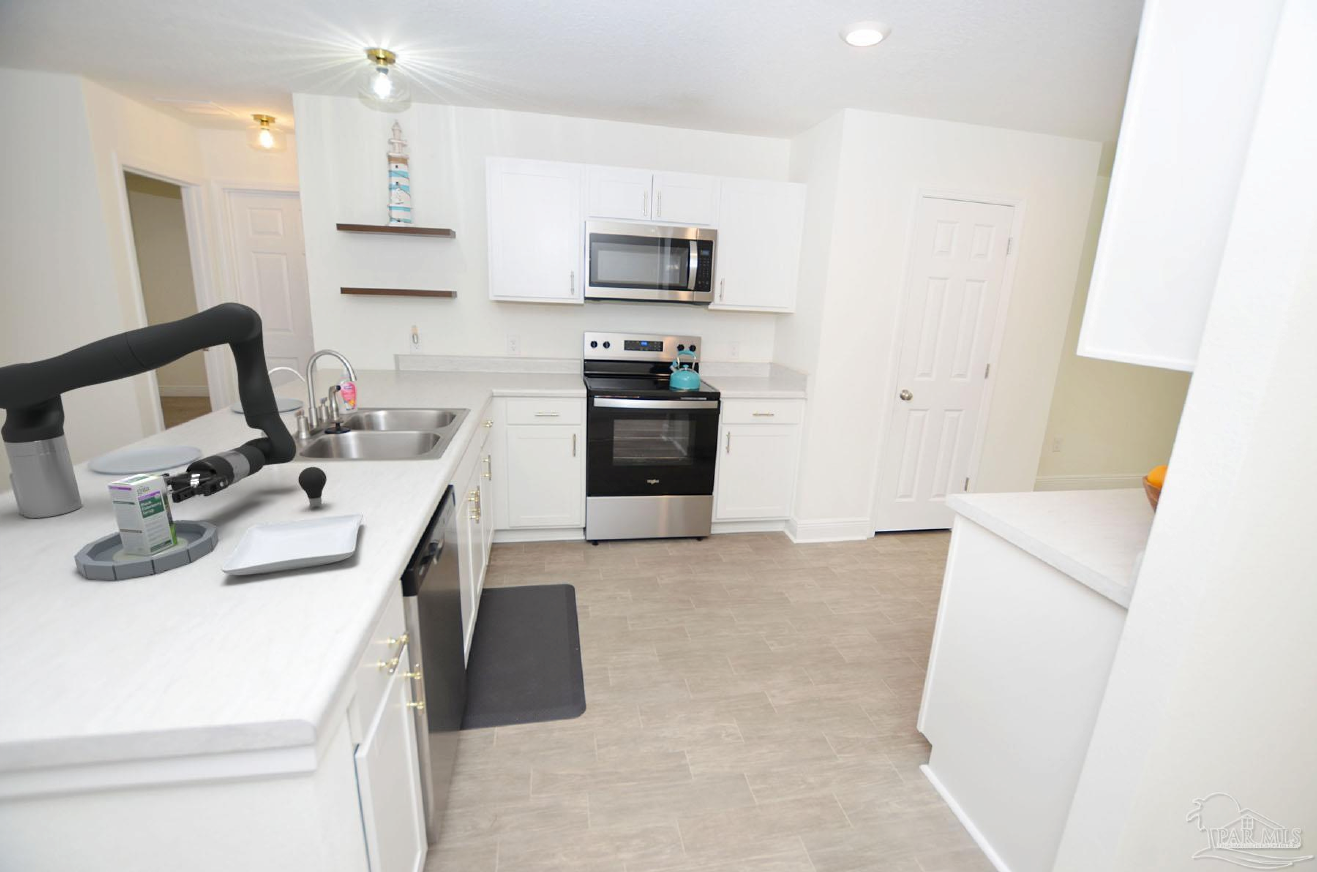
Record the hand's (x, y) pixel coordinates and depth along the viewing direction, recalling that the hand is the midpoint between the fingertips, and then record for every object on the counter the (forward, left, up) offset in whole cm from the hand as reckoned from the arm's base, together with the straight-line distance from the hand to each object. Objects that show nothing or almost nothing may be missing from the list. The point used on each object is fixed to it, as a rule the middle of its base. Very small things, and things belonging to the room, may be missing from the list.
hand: (152, 497), depth 110 cm
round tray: (0, -3, -11) cm, 11 cm away
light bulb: (+16, +23, -11) cm, 30 cm away
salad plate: (+27, +1, -11) cm, 29 cm away
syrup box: (0, -2, -10) cm, 10 cm away
